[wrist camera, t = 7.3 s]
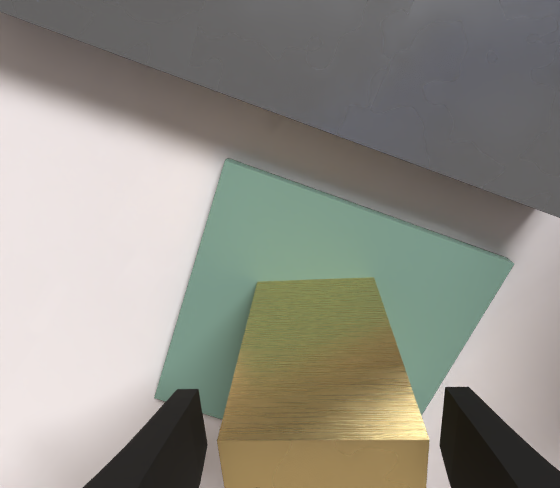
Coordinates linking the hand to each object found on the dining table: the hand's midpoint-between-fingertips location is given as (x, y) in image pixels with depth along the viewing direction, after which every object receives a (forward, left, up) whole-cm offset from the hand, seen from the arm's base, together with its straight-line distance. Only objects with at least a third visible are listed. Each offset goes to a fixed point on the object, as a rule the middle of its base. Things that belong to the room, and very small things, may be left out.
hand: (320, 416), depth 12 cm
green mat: (0, 0, -4) cm, 4 cm away
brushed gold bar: (0, 0, -4) cm, 4 cm away
